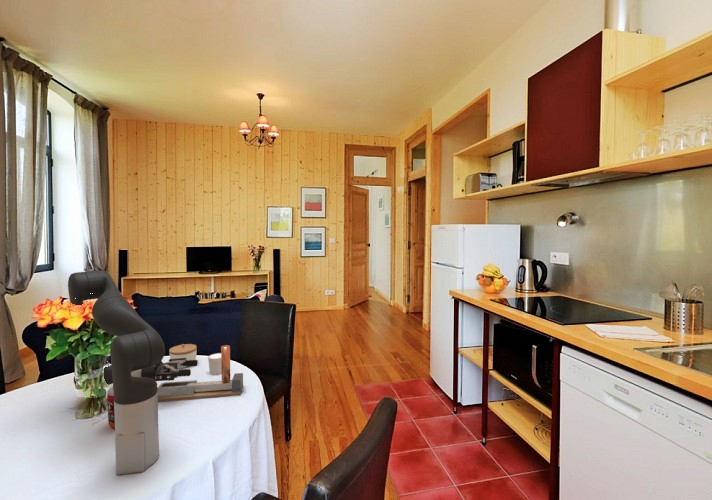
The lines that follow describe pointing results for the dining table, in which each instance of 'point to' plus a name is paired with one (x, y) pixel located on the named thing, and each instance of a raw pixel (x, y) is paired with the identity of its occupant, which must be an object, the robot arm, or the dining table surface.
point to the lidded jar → (183, 352)
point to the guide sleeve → (175, 389)
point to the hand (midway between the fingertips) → (194, 367)
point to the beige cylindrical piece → (215, 364)
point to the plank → (201, 395)
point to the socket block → (237, 382)
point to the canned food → (111, 408)
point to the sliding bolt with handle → (226, 381)
